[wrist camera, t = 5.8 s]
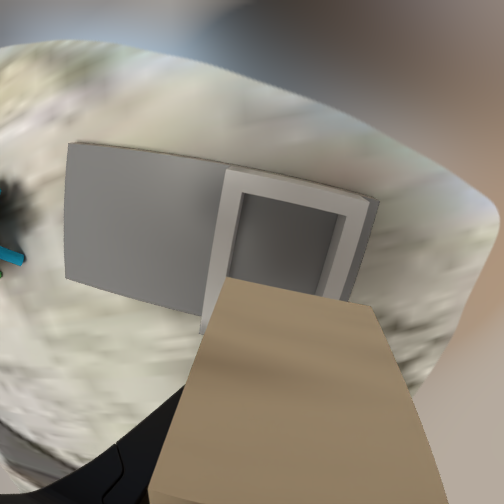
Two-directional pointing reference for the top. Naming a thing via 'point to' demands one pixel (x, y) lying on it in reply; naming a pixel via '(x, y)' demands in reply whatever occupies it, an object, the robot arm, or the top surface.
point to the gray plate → (205, 228)
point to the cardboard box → (294, 410)
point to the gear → (11, 255)
